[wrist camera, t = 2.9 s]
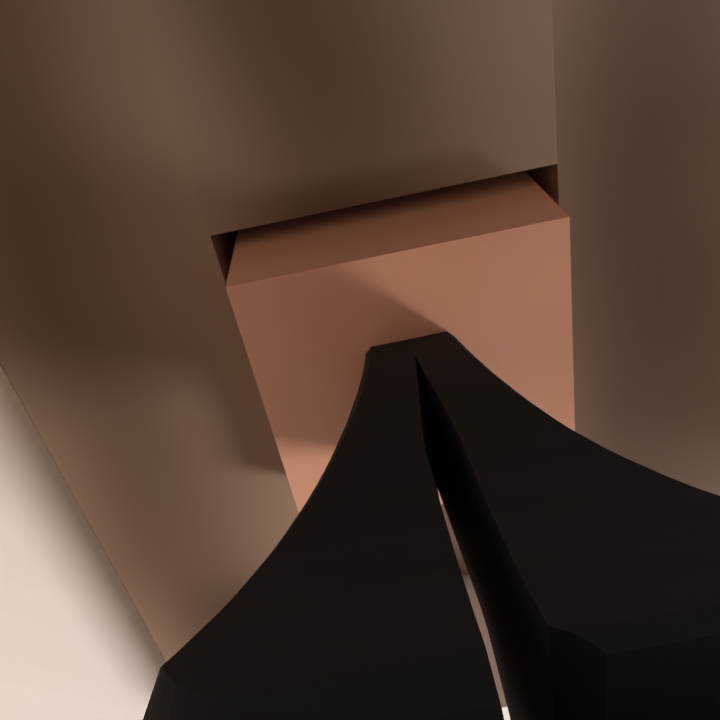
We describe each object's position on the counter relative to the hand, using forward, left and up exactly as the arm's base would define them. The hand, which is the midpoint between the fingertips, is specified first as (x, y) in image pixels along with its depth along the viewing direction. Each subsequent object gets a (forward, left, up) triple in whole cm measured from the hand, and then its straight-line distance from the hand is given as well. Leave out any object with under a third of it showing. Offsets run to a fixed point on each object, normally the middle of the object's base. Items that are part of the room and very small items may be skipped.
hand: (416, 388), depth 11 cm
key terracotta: (0, 0, -4) cm, 4 cm away
